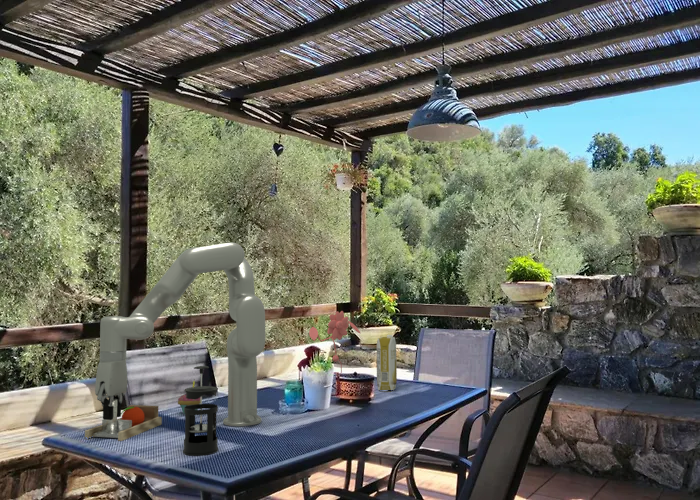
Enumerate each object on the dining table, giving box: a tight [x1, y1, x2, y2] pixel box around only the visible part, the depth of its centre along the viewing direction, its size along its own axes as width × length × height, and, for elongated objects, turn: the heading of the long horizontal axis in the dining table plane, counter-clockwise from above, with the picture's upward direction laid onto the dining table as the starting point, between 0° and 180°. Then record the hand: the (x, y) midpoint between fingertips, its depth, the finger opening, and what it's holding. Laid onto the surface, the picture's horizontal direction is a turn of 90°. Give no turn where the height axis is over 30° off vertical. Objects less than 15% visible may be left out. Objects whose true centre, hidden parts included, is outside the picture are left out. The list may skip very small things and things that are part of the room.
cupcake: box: [177, 378, 201, 415], centre depth 214 cm, size 9×8×12 cm
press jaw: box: [93, 399, 132, 439], centre depth 181 cm, size 6×9×11 cm, turn 77°
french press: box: [182, 365, 219, 457], centre depth 164 cm, size 12×9×23 cm
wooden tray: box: [84, 404, 163, 442], centre depth 187 cm, size 22×12×6 cm, turn 167°
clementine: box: [121, 406, 144, 427], centre depth 190 cm, size 8×7×7 cm
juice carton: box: [376, 334, 398, 391], centre depth 261 cm, size 9×8×24 cm
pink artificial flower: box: [308, 310, 361, 374], centre depth 252 cm, size 15×26×35 cm, turn 133°
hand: (111, 417), depth 180 cm, fingers closed on press jaw, 3 cm apart
